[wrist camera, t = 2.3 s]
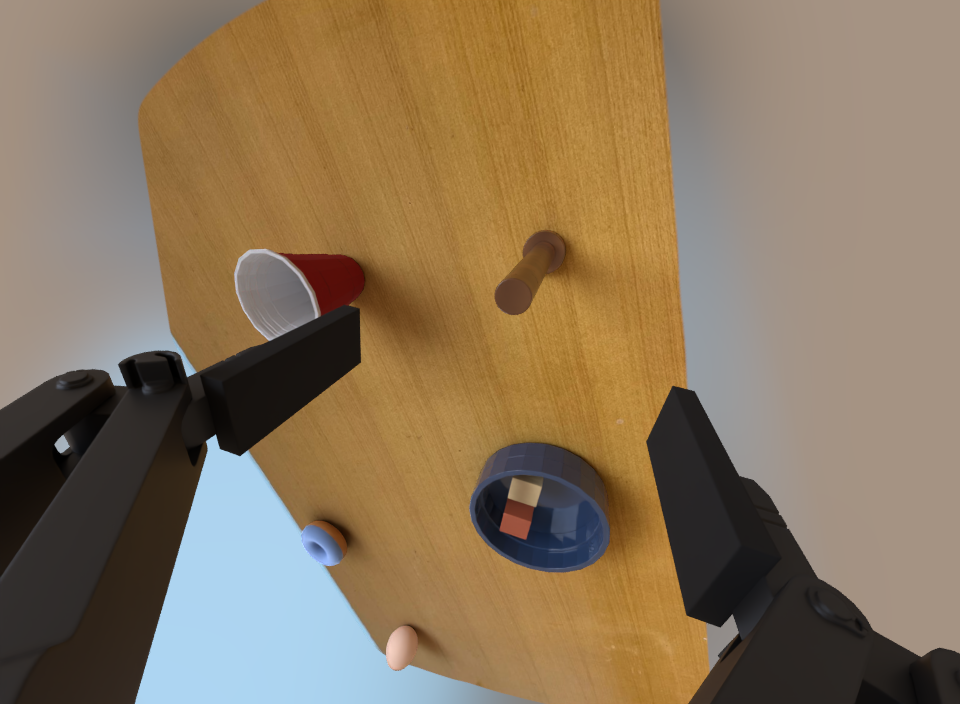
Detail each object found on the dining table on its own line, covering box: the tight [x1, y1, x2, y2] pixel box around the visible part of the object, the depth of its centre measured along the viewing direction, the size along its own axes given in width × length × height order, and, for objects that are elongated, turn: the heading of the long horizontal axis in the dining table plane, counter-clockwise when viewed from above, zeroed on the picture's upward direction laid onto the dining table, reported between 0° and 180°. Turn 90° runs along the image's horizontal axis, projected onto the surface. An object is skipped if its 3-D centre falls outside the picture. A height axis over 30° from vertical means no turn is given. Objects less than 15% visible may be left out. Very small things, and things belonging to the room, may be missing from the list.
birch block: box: [508, 475, 544, 507], centre depth 48 cm, size 4×4×4 cm
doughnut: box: [301, 521, 347, 566], centre depth 71 cm, size 10×10×5 cm
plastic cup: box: [234, 249, 365, 341], centre depth 41 cm, size 11×11×12 cm
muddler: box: [495, 230, 566, 315], centre depth 30 cm, size 4×4×18 cm
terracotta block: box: [500, 498, 534, 540], centre depth 52 cm, size 4×4×4 cm
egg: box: [386, 626, 418, 671], centre depth 77 cm, size 7×7×8 cm
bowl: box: [469, 443, 610, 572], centre depth 49 cm, size 19×19×6 cm
